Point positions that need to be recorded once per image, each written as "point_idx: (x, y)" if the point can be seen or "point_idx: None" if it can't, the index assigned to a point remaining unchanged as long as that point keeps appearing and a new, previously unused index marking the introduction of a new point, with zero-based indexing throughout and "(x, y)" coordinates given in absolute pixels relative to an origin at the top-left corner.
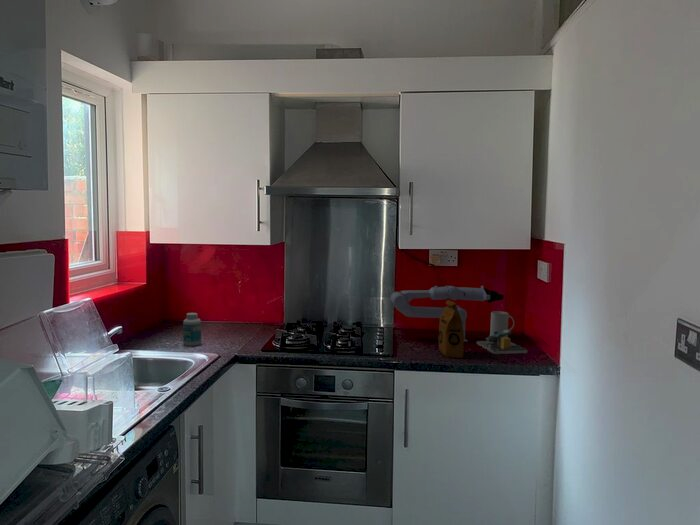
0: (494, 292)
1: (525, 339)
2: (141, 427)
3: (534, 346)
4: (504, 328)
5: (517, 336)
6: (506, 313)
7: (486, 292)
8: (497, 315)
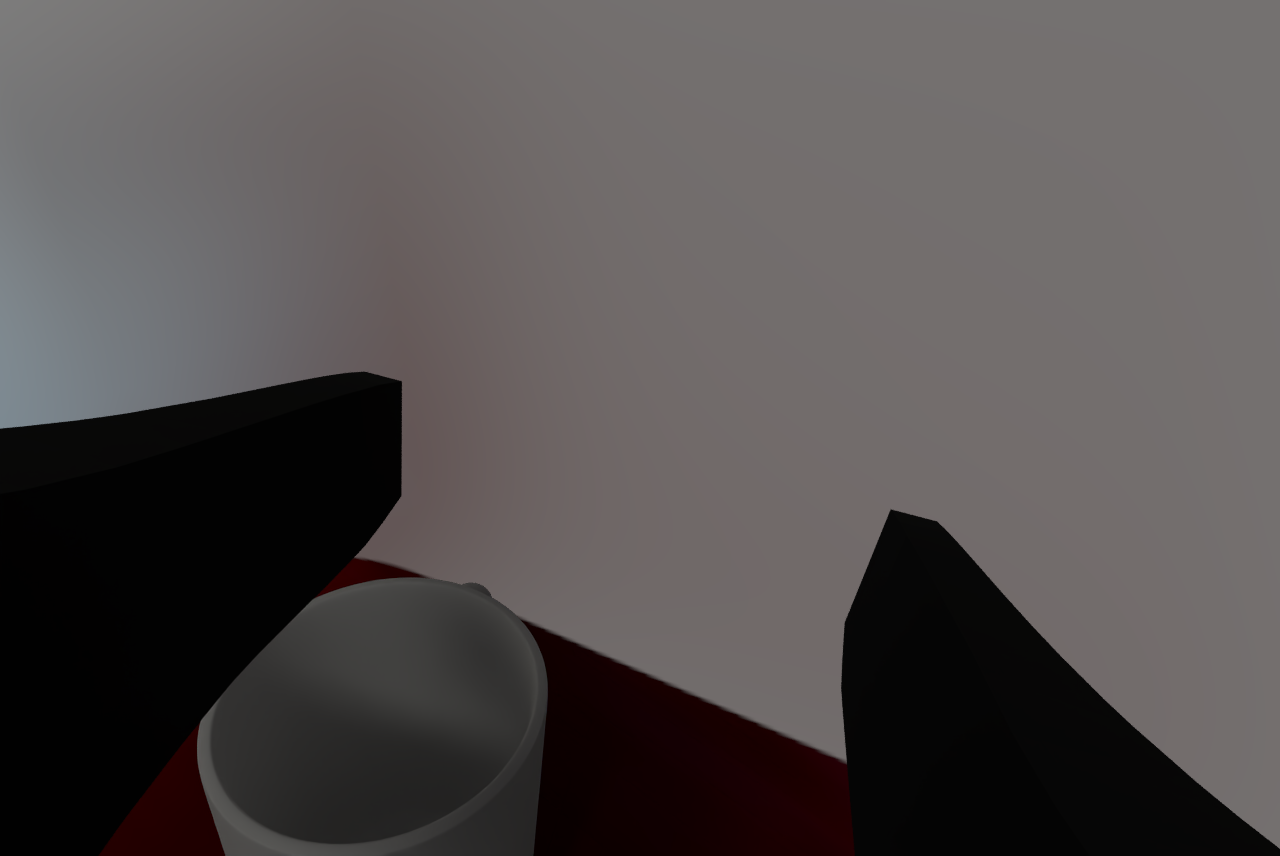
0: (324, 441)
1: (610, 687)
2: None
3: None
4: (534, 840)
5: None
6: (427, 598)
7: (3, 676)
8: (469, 835)
